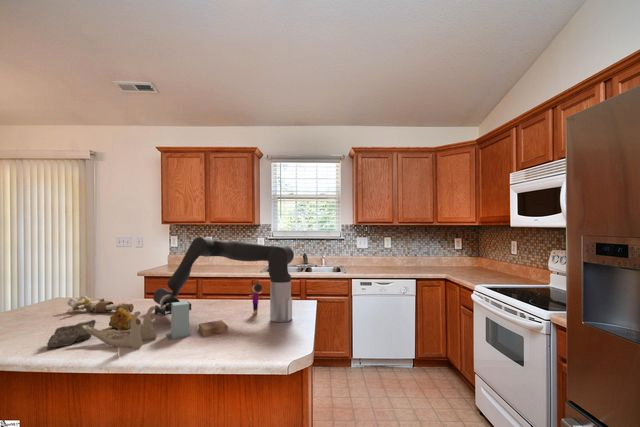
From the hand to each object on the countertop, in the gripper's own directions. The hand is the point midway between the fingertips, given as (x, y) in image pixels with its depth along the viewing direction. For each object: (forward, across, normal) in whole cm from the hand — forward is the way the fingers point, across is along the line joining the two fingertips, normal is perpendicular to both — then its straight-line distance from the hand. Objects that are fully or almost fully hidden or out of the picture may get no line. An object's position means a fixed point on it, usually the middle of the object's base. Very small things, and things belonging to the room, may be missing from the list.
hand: (175, 311), depth 137 cm
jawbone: (+7, -21, +7) cm, 23 cm away
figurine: (-49, -27, +7) cm, 56 cm away
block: (+11, 0, +7) cm, 12 cm away
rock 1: (-4, -35, +7) cm, 36 cm away
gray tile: (+11, 0, +7) cm, 13 cm away
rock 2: (-13, -18, +7) cm, 23 cm away
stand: (+13, +12, +7) cm, 19 cm away
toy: (-4, +37, +7) cm, 38 cm away
